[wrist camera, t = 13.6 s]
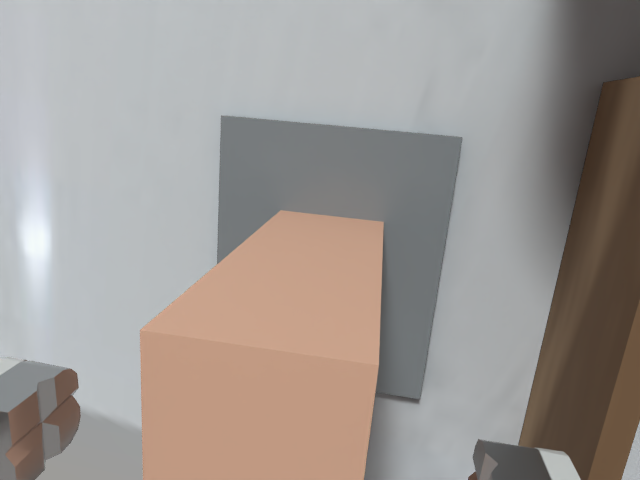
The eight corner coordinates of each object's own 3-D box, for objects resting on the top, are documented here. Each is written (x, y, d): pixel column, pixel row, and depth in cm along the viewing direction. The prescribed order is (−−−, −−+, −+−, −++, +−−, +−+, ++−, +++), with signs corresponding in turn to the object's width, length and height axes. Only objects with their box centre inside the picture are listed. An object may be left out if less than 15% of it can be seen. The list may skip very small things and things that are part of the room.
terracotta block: (383, 221, 20) (379, 364, 8) (371, 318, 21) (352, 562, 9) (280, 210, 20) (140, 330, 9) (274, 305, 21) (143, 520, 10)
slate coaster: (460, 136, 19) (462, 137, 18) (419, 392, 22) (419, 399, 22) (225, 115, 20) (221, 115, 20) (218, 361, 23) (214, 367, 23)
